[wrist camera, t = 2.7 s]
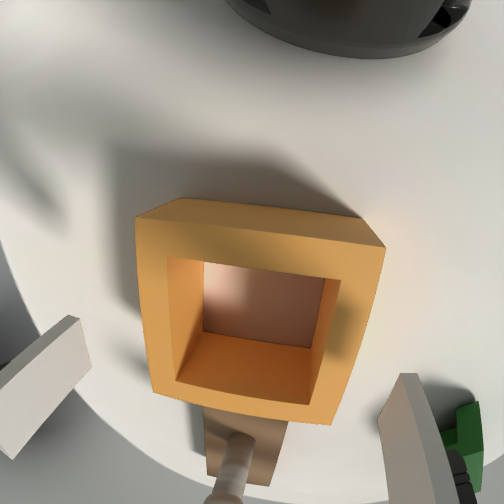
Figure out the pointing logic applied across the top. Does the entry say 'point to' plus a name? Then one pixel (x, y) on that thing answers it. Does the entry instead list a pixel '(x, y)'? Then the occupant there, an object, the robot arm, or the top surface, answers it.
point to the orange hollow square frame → (244, 350)
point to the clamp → (468, 441)
